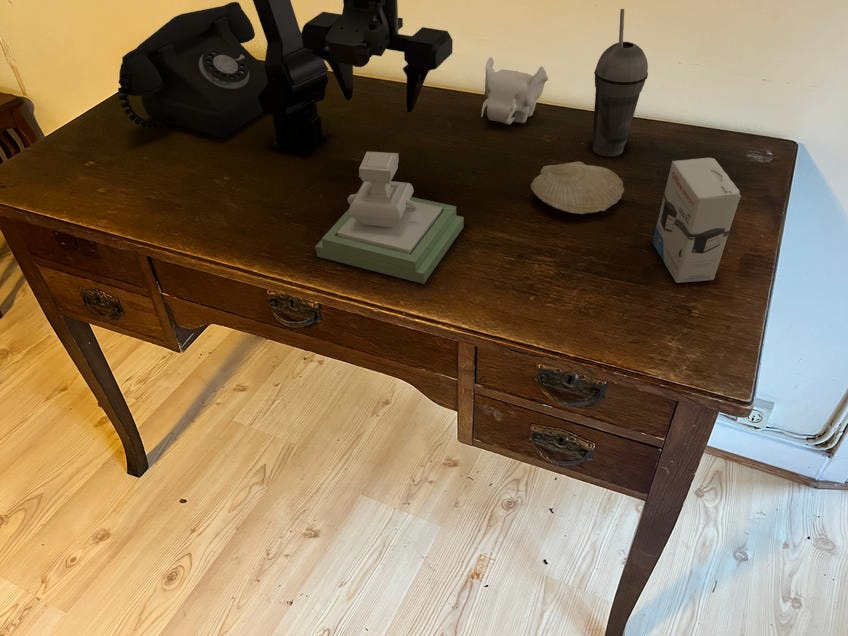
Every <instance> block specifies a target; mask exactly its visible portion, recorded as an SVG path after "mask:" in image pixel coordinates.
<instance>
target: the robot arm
mask: <svg viewBox="0 0 848 636" xmlns="http://www.w3.org/2000/svg"><path fill="white" fill-rule="evenodd" d="M252 2H253V5H254V8H255V11H256V14H257V17H258V20H259V23H260V25H261V28H262V31H263V35H264V37H265V40H266V51H265V58H264V63H263V65H264V68H265V72H266V76H267V80H268V83H267V85H266V86H265V88H264V89H263V91H262V92H261V94H260V95H259V97H258V99H259V102H260V104H261V107H262V109H263V112H264V113H267V114H269V115H271V116H272V118H273V119H272V120H273V126H274V132H275V137H276V140H275V141H274V142H272V143H271V148H272V149H274V150H279V151H283V152H289V153H292V154H297V155H302V156H307V155H309V154H311V152H312V151H313V150H314V149H316V148H317V146H319V145H320V144H321V143H322V142H323V141H324V140H325V139H326V138H327V134H326V133H325V132H323V127H322V118H321V114H319V113H318V112H319V111H318V106H317V103H319V102H321V101H324V100H325V95H326V89H327V85H328V84H329V76H328V71H329V68H330V69H331V70H332V73H333V75H334V76H335V79H336V81H337V83H338V85H339V88H340V89H341V92H342V94H343V96H344V98H345V100H346V101H350V100H352V98H353V93H354V67H355V68H362V67H365V66H366V65H368V64H369V62H370V60H371V58H372V57H374V56H375V57H377V56H378V57H382V56H383V55H384V53H385V51H386V50H389V51H394V52H399V53H403V58H404V61H405V62H406V65H405V66H404V67H402V71H403V73H404V74H405V76H406V97H405V98H406V111H407V113H412V111H413V110H414V109H415V107H416V104H417V101H418V99H419V96H420V93H421V91H422V89H423V85H424V83H425V81H426V78H427V75H428V74H429V72H430V71H433V70H434V71H435V70H436V69H438V68H439V67H440V66H441V65H442V64H443V63H444V62H445V61H446V60H448V58H449V57H450V56H451V55H452V54H453V45H454V44H453V42H454V40H453V37H452V36H451V34H450V33H449V31H448V30H443V29H437V28H431V27H425V26H421V28H420V29H419V30H417V31H416V32H415V33H413V35H409V34H401V33H399V31H400V29H402V28H403V27H404V20H403V19H404V18H403V17H399V5H398V0H342V4H343V7H342V11H341V13H334V12H328V11H322V12H320V13H318V14H317V15H316V16H314V17H313V18H311V19H309V20H308V21H307V22H305V23H304V24H303V26H302V29H301V28H300V25H299V23H298V19H297V17H296V14H295V10H294V6H293V4H292V1H291V0H252ZM326 63H327V64H328V65H327V64H326ZM328 66H329V67H328Z"/></svg>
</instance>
